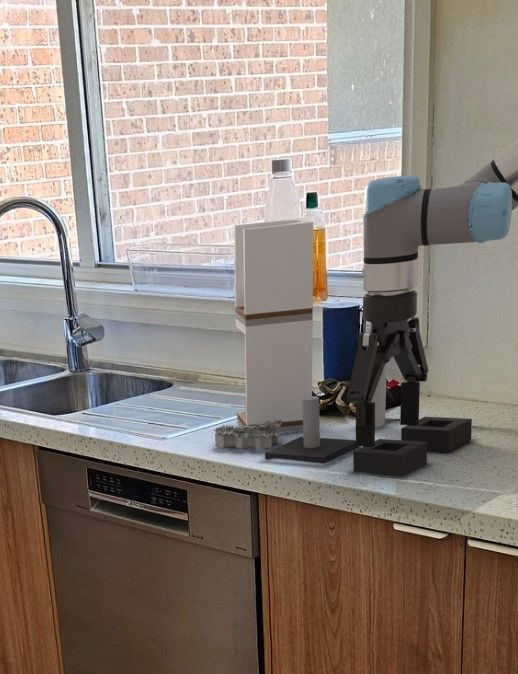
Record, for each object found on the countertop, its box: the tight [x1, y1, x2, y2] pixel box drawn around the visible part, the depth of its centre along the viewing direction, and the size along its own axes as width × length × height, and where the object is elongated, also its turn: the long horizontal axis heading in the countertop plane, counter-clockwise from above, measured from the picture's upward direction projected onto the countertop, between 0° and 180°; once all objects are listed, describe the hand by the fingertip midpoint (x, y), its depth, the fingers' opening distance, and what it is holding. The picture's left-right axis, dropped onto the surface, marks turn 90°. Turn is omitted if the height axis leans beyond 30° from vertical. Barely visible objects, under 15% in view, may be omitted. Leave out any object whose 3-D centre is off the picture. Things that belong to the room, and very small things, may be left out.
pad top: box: [400, 416, 473, 453], centre depth 196 cm, size 8×8×4 cm
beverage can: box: [371, 363, 388, 430], centre depth 210 cm, size 5×5×12 cm
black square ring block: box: [352, 438, 428, 478], centre depth 187 cm, size 8×8×4 cm
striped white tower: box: [233, 217, 314, 433], centre depth 215 cm, size 11×11×35 cm
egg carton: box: [212, 420, 282, 450], centre depth 211 cm, size 11×8×4 cm
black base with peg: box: [264, 395, 360, 464], centre depth 199 cm, size 11×11×10 cm
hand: (387, 435), depth 186 cm, fingers open, 13 cm apart
